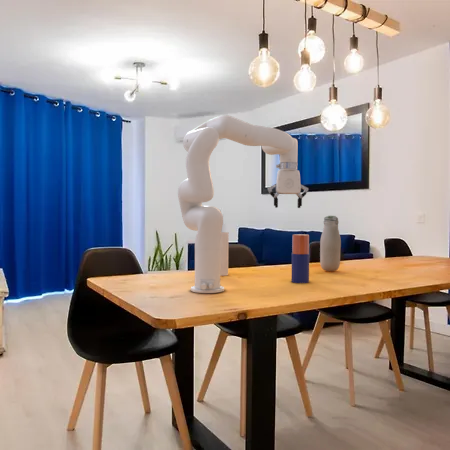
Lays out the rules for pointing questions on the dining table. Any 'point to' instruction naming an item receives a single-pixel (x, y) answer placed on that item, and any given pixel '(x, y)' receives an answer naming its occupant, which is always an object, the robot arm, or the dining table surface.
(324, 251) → the grey bottle
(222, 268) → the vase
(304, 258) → the water bottle
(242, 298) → the dining table surface
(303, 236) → the cup
